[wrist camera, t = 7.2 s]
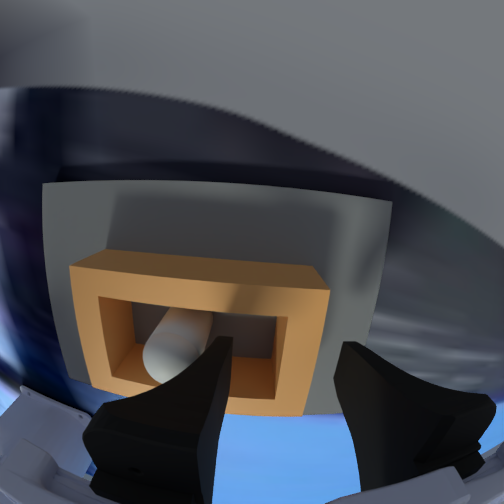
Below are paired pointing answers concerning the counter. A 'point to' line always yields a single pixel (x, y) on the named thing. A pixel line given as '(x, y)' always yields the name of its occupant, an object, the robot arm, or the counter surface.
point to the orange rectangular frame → (209, 299)
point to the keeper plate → (220, 247)
